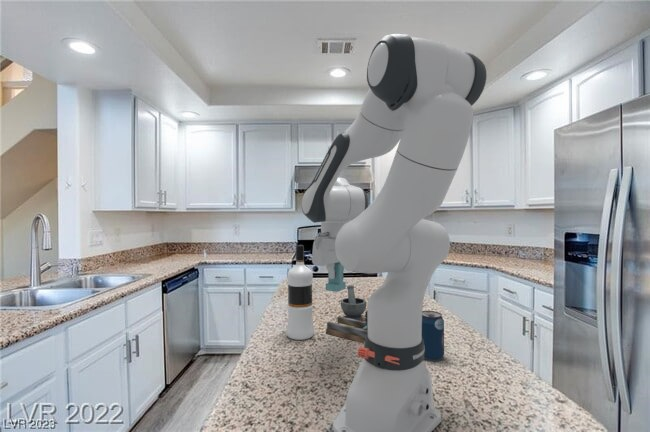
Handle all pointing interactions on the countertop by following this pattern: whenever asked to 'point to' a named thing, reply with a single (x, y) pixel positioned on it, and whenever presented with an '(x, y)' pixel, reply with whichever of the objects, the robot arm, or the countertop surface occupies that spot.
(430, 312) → the soda can
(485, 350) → the countertop surface
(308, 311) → the vodka
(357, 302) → the mortar and pestle
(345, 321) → the rail
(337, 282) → the teal t-block
